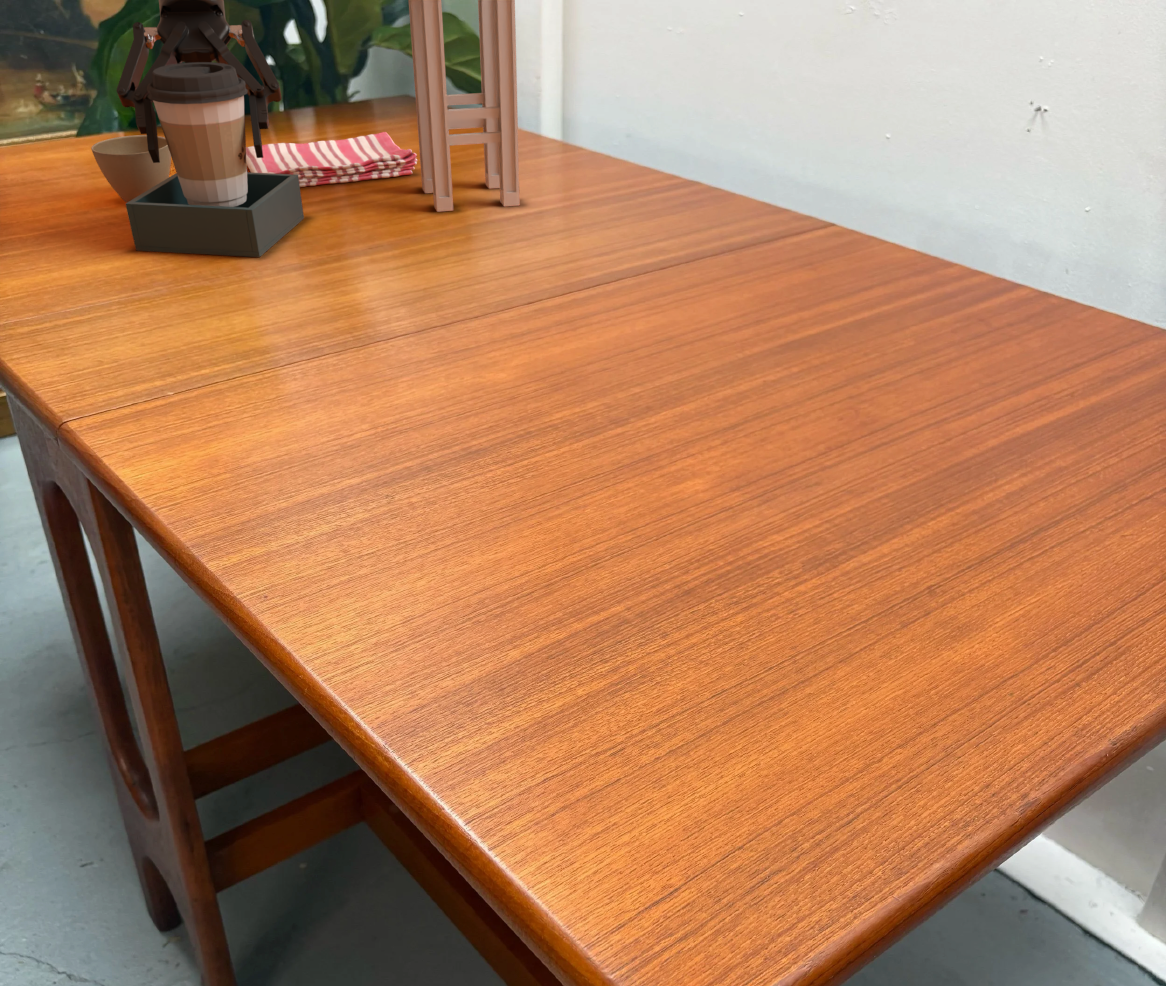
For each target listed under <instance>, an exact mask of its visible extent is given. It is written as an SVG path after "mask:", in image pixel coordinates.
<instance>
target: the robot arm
mask: <svg viewBox="0 0 1166 986" xmlns="http://www.w3.org/2000/svg"><path fill="white" fill-rule="evenodd" d="M158 7H159V17H160V19H159V22H158V24H157V26H147V27H146V26H145V27H144V24H143V23H142V22H140V21H135V22H134V23H133V24H132V34H133V35H132V36H133V39H132V44H131V46H130V49H129V52H128V55H127V58H126V61H125V63H124V66H123V70H122V72H121V75H120V78H119V81H118V84H117V87H116V94H117V96H118V99H119V100H120V103H121V105H122V107H124V108H133V109H134V114H135V124H136V126H137V128H138V131H139V133H140V135H147V144H148V151H149V154H150V156H151V158H152V161H153V163H160V158H159V147H158V126H157V116H156V115H157V113H156V110H155V107H154V106H153V105H154V102H153V100H150V99H149V98H148V97H147V96H148V91H147V86H148V85H149V84H150V83H151V82H153V80H152V72H153V71H154V70H155V69H157V68H159V67H162V66H167V65H172V64H179V63H192V62H215V63H224V64H228V65H231V66H233V67H234V68H235V70H236V73H237V76H238V78H241V79H242V80H244V81H245V83H246V85H245V87H246V89H247V90H248V92H247V94H246V95H248V105H249V112H250V122H251V131H252V132H251V133H252V141H253V146H254V148H255V152H256V156H257V158H263V150H262V145H263V143H262V131H261V130H269V128H270V118H269V109H268V106H269V104H270V103H272V102H275V103H279V102H281V101H282V98H283V97H282V93H281V87H280V83H279V81H278V80H277V77H276V76H275V73H274V72H273V70H272V69H271V66H270V64H269V62H268V61H267V59H266V57H265V56H264V53H263V52H262V50H261V48H260V46H259V44H258V43H257V41H256V39H255V33H254V29H253V24H252V22H251V20H249V19H243V20H241V24H234V25H233V24H231V25H230V24H229V23H228V21H227V19H226V10H225V1H224V0H158ZM232 38H233V39H235V40H236V41H237V43H238V44H239V45H240V46H241V47H242V48H243V47H245V51H246V54H247V56H248V58H249V60H250V62H251V63H252V65H253V67H254V69H255V71H256V72H257V75H258V76H259V78H260V81H261V82H262V84H260V83H259V81H258V80H257V79H256V78H255V77H254V76H253V74H251V73H250V72H249V70H248V69H247V68H246V67H245V66H244V65H243V64H242V63H241V61H239V59H238V58H237V57H236V56H235V55H234V53H232V52H231V50H230V49H229V47H228V44H229V43H230V41H231V40H232ZM159 40H160V42H161V43H162V44H163V45H162V47H161V48H160V53H159V55H158V56H157V57H156V59H155V61H154V62H153V63H152V65H151V67H150V68H149V69H148V71H147V72H146V74H145V75H144V76H143V73H144V71H145V68H146V65H147V61H148V59H149V53H150V50H152V49H153V48H154V45H155V42H156V41H159ZM142 76H143V78H142Z"/></svg>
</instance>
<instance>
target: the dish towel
mask: <svg viewBox="0 0 1166 986" xmlns="http://www.w3.org/2000/svg"><path fill="white" fill-rule="evenodd" d="M262 150H263V158H257V156H256V152H255V148H254V145H251V146H246V160H247V169H249V171H250V172H251V173H274V174H294V175H298V178H299V185H300V188H304V187H313V186H320V185H329V184H330V185H331V184H343V183H352V182H354V183H355V182H359V181H368V180H379V179H388V178H395V177H396V178H397V177H401V176H410V175H413V171H412V170H415V169H416V168H415V166H417V164H418V159H417V157H418V155H417V153H416V152H413V150H412V149H411V148H407V149H404V148H400V146H398V145H397V144H396V143H395V142H394V141H393V139H392V138H391V136H390V135H389V134H388V133H387V132H386V131H382V132H381V131H380V132H379V133H371V134H367V135H359V136H357V137H349V138H346V139H337V140H336V139H335V140H334V139H332V140H331V139H329V140H318V141H312V142H306V143H296V142H278V143H267V144H262Z"/></svg>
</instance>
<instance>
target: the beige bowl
mask: <svg viewBox="0 0 1166 986" xmlns="http://www.w3.org/2000/svg"><path fill="white" fill-rule="evenodd" d="M157 136H158V135H157ZM158 147H159V158H160V163H153V161H152V158H151V156H150V154H149V151H148V144H147V134H138V135H137V134H135V135H125V136H118V137H112V138H108V139H104V140H100V141H98V142H96V143H94V144H93V145H92V146H91V147H90V148H91V152H92V155H93V157H94V159H95V162H96V164H97V165H98V168H99V170H100V171H101V173H102V175H103V176H104V178H105V179H106V181H107V182H108V184H109V186H111V188H112V189H113V190H114V191H115V193H116V194H117V195H118V196H119V197H120V198H121V199H122V200H123V201H124V202H125V203H127V202H129V201H131V200H132V199H134V198H136V197H137V196H139V195H141V194H142V193H144V192H146V191H147V190H149V189H151V188H152V187H154V186H156V185H157V184H159V183H161V182H162V181H164V180H166V179H167V178H169V177H170V173H171V168H172V167H171V165H172V157H171V154H170V151H169V148H168V145H167V142H166V139H165V136H158Z"/></svg>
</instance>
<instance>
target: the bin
mask: <svg viewBox="0 0 1166 986" xmlns="http://www.w3.org/2000/svg"><path fill="white" fill-rule="evenodd" d="M247 185H248V192H247V194H246V195H247V199H246V202H244V203H243V204H241V205H238V206H235V207H224V206H204V205H189V204H188V202H187V199H186V198H185V196H184V194H183V191H182V188H181V185H180V182H179V179H178V176H177V172H176V173H173V174H172V175H171V176H169V178H167V179H166V180H164V181H162V182H161V183H159V184H157V185H156V186H154V187H152V188H151V189H149V190H147V191H146V192H144V193H142V194H141V195H139V196H137V197H136V198H134V199H132V200H131V201H129V202H125V208H126V212H127V217H128V222H129V225H130V229H131V235H132V239H133V244H134V248H135V251H138V252H153V253H173V254H190V255H192V254H194V255H209V256H210V255H211V256H212V255H213V256H228V257H229V256H230V257H247V258H249V257H250V258H261V257H262V256H263V255H265V254H266V253H267V251H269V250H270V249H271V248H272V247H274V246H275V245H276V244H277V243H278V242H279V241H280V240H281V239H283V238H284V237H285V236H286V235H287V234H288V233H290V232H291V231H292V230H293V229H294V228H295V227H296V226H297V225H298V224H300V223H301V222H303V220H305V215H304V209H303V200H302V194H301V187H300V185H299V178H298V175H294V174H274V173H251V172H248V171H247Z"/></svg>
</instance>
